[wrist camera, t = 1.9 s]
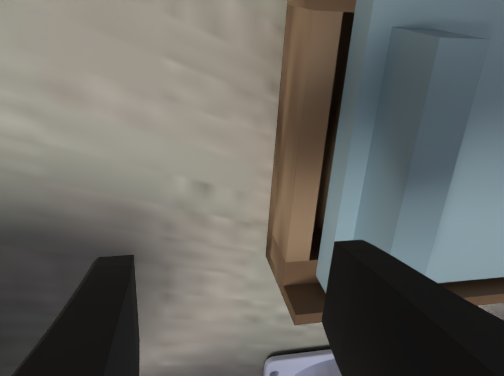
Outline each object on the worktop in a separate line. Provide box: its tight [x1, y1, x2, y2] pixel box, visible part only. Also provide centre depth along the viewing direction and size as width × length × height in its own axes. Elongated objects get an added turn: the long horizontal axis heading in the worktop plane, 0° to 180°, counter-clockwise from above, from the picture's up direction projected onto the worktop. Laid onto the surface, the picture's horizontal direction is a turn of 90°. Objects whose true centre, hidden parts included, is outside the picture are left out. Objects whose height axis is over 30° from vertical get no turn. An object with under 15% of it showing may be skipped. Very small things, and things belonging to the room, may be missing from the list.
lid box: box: [266, 0, 504, 325], centre depth 18 cm, size 13×15×5 cm
